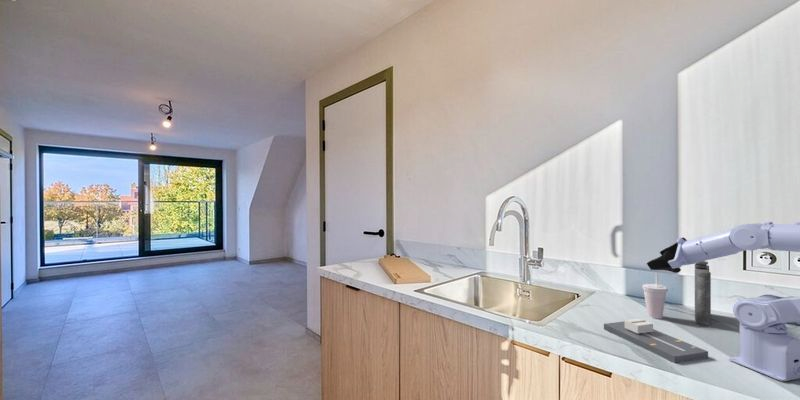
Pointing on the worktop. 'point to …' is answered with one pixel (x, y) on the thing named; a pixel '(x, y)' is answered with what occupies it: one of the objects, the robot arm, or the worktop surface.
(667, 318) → the worktop surface
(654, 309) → the smoothie
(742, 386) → the worktop surface
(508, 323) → the worktop surface
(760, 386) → the worktop surface
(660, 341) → the console
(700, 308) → the flask
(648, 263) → the robot arm
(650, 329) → the fader knob
